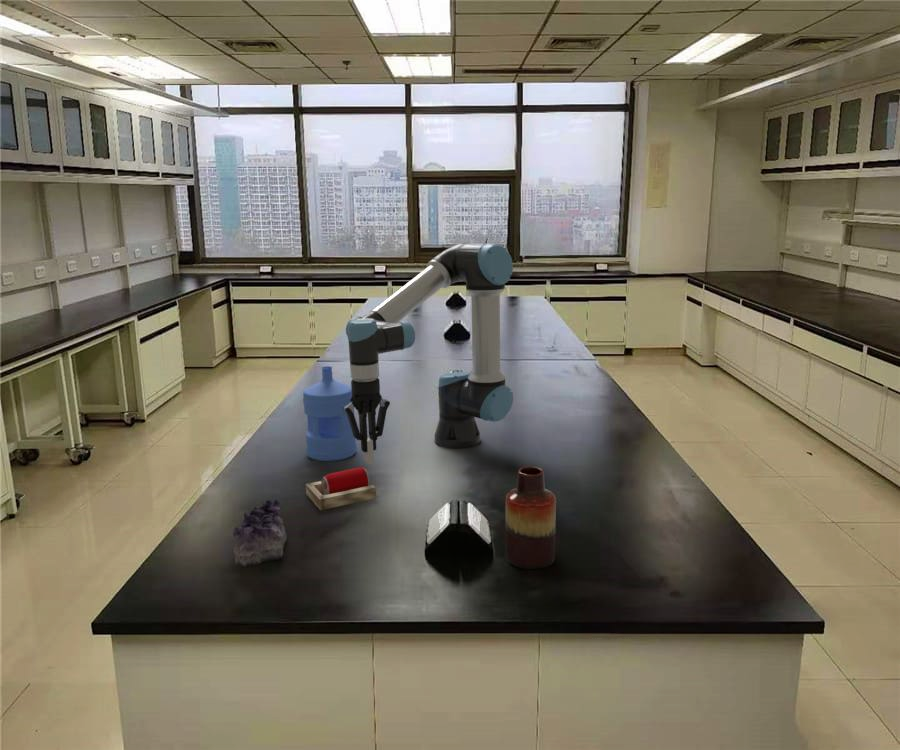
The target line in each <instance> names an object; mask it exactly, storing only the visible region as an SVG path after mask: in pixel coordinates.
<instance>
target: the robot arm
mask: <svg viewBox="0 0 900 750" xmlns="http://www.w3.org/2000/svg"><path fill="white" fill-rule="evenodd" d="M513 270H514V262H513V259H512V256H511V254H510V253H509V251H508V250H507V249H506V247H504V246H503V245H500V244H495V243H492V242H491V243H489V242H486V243H484V242H481V243H480V242H479V243H478V242H473V243H472V242H461V243H457V244H454V245H452V246H450V247H448V248H447V249H445V250H443V251H441V252H440V253H439V254H437V255H436V256H434V257H433V258H432V259H431V260H430V261H428V262H427V264H426V268H425V269H423V270H422V271H420V273H418V274H417V275H415V277H413V278H412V279H410V280H409V281H407V282H406V284H404V285H403V286H402V287H400V288H398V289H397V290H396V291H395V292H394V293H393V294H391V295H390V296H389V297H387V298H386V299H385V300H383V301H381V302H380V303H379V304H378V305H377V306H375V307H374V308H373V309H372V310H370V311H369V312H368V313H367V314H365V315H363V316H355V317H351V318H350V319H349V320H348V322H347V324H346V327H345V334H346V337H347V341H348V354H349V368H350V369H349V370H350V378H351V380H350V387H351V390H352V398H351V400H350V401H351V402H350V403H349V404H348V405H347V406H343V410H344V411H345V412H346V414H347V416H348V419H349V423H350V426H351V429H352V432H353V435H354V437H355V438H356V440H357V441H360V447H361V451H362V452H363V453H364V460H365V463H366V464H368V465H370V464H371V465H372V464H374V463H375V459H374V457H375V456H374V455H375V454H374V451H376V450H377V440H378V438H379V437H382V436H383V433H384V427H385V422H386V417H387V410H388V409H389V406H390V404H391V401H390V400H387V399H384V398H383V397H382V395H381V393H380V391H381V386H380V378H379V377H380V368H379V367H380V366H379V363H380V361H379V354H380V355H381V354H384V353H390V352H395V351H403V350H405V349H406V350H407V349H408V348H411V347H412V346H414V344H415V342H416V330H415V328H414V327H413V325H412V324H411V323H410V322H408V321H402V320H404V319H405V318H406V317H407V316H408V315H410V314H411V313H412V312H414V310H416V309H417V308H418V307H420V306H421V305H422V304H423V303H425V302H426V301H427V300H428V299H429V298H431V297H432V296H433V295H435V294H436V293H437V292H438V291H439V290H441V289H447V288H448V287H449V286H451V285H452V284H455V283H458V282H465V290H466V291H467V292H468V293H469V294H470V296H471V297H470V298H471V299H470V301H471V307H470V308H471V345H472V346H471V347H472V349H471V353H472V356H471V357H472V371H467V370H466V371H465V370H464V371H454V372H448V373H444V374H442V375H440V377H439V378H438V386H437V388H438V389H437V390H438V411H439V413H438V415H439V416H438V417H439V420H438V422H437V425H436V429H435V432H434V443H435V445H437V446H440V447H444V448H448V449H449V448H451V449H464V448H465V449H466V448H469V447H474V446H476V445H478V444H480V442H481V432H480V429H479V427H478V423H477V420H476V418H478V419H481V420H483V421H487V422H493V423H494V422H499V421H502V420H503V419H504V418H505V417H507V415H508V413H510V411H511V409H512V407H513V403H514V394H513V393H514V392H513V390H512V389H511V388H510V387H509V386H508V385H506V376H505V374H503V372H501V305H500V304H501V303H500V301H501V299H500V298H501V296H500V295H501V293H503V292H504V290H505V289H506V285H505V284H506V283H508V282H509V281H510V280H511V277H512V275H513ZM353 406H354V409H353ZM378 406H379V408H378ZM377 408H378V413H377V411H376V410H377ZM353 410H354V411H355V410H356V411H357V415H358V422H357V419H356V417H355V413H354V414H353ZM376 414H377V415H376ZM376 416H377V419H376ZM358 423H359V425H358ZM367 423H368V424H367ZM358 426H359V427H358Z"/></svg>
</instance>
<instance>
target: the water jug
mask: <svg viewBox="0 0 900 750" xmlns="http://www.w3.org/2000/svg"><path fill="white" fill-rule="evenodd" d="M332 369H333V366H328V365H327V366H321V370H322V372H321V376H322V379H321V381H319V382H316V383H315V384H312V385H311V386H309V387H307V388H305V389H304V390H303V392H302V403H303V412H304V414H305V415H306V417H307V432H306V433H305V441H306V443H305V444H306V446H305V447H306V455H307V457H308V458H310V459H311V460H314V461H320V462H335V461H342V460H345V459H348V458H351V457H352V456H353V455H355V454H356V453H357V450H358V449H357V443H356V442H357V441H356V440H357V439H356V438H355V437H354V435H353V432H352V429H351V426H350V423H349V419H348V416H347V414H346V412H345V411H344V410H343V406H347V405H348V404H349V403H350V402H351V401H350V400H351V398H352V390H351V385H348V384H345V383H343V382H340V381H338V380H334V378H333V371H332ZM353 409H354V410H353V414H354V415H355V407H354V406H353Z"/></svg>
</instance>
